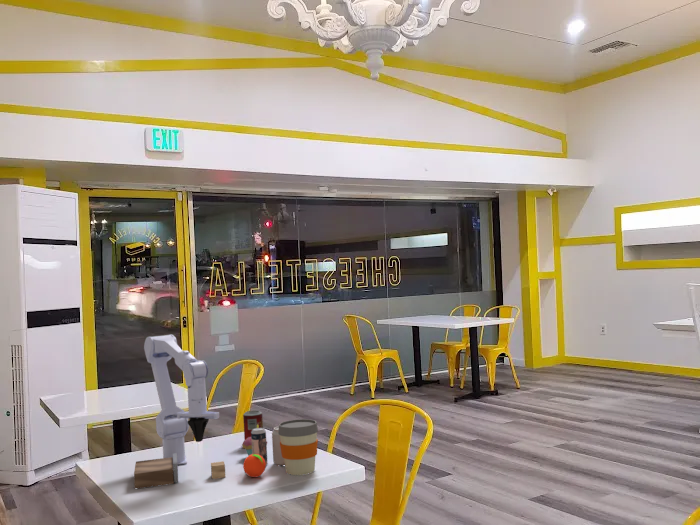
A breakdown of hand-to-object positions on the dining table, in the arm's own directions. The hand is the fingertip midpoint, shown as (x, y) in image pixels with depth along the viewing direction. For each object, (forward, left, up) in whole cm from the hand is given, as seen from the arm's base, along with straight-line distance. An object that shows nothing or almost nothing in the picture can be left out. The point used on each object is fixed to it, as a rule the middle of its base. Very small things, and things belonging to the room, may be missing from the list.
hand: (199, 441), depth 214 cm
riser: (+8, +5, -10) cm, 14 cm away
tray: (+2, -13, -10) cm, 16 cm away
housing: (+2, -14, -10) cm, 17 cm away
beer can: (+2, +19, -10) cm, 22 cm away
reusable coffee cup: (+14, +30, -10) cm, 35 cm away
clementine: (+14, +16, -10) cm, 24 cm away
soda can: (-28, +21, -10) cm, 36 cm away
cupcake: (-10, +19, -10) cm, 24 cm away
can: (+3, +27, -10) cm, 29 cm away
